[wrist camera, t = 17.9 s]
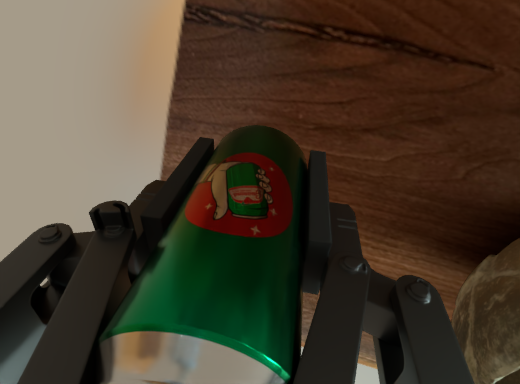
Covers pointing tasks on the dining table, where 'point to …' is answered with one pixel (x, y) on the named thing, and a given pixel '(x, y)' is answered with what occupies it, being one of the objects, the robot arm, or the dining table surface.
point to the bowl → (491, 318)
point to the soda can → (220, 276)
